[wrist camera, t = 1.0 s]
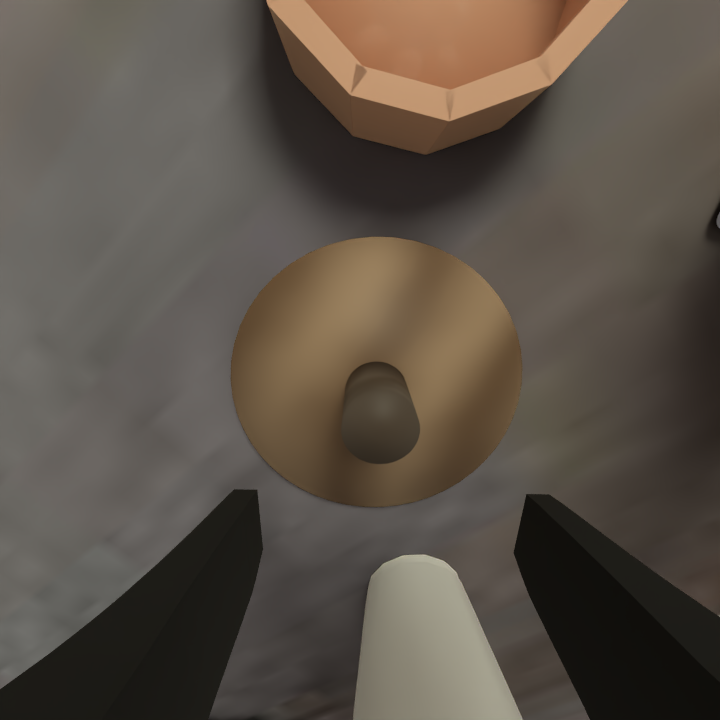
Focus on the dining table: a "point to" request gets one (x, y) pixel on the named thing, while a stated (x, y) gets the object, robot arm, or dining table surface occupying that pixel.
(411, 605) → the foam cup
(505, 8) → the bowl
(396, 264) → the lid
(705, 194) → the dining table surface
